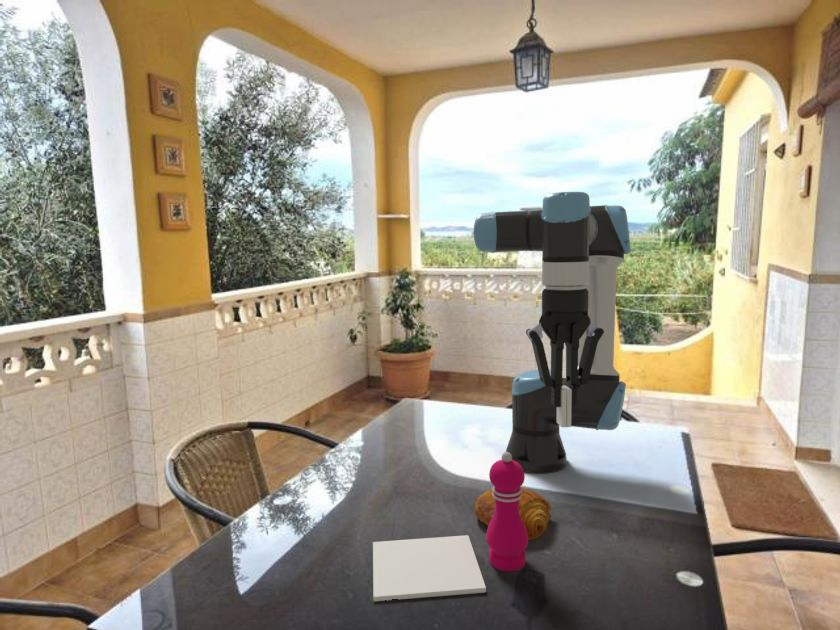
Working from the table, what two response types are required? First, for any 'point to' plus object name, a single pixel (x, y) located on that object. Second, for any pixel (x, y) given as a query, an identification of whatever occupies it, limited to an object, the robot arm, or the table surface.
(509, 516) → the pepper mill
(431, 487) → the table surface
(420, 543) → the white mat
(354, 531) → the table surface
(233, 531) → the table surface
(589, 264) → the robot arm
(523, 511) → the croissant
